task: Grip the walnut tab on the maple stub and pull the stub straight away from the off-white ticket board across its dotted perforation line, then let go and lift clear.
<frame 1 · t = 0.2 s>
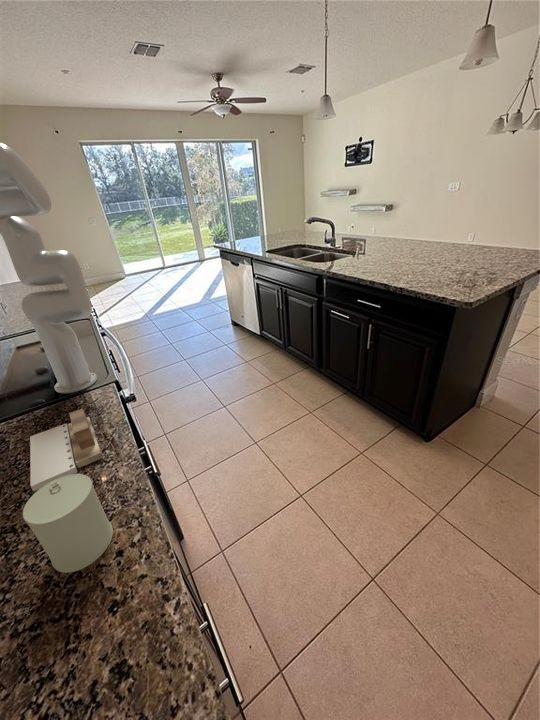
can: (84, 544, 51), on the countertop
ticket board: (72, 447, 73), on the countertop
stub: (80, 431, 73), point 3 cm above the countertop, slide at 0.0 cm
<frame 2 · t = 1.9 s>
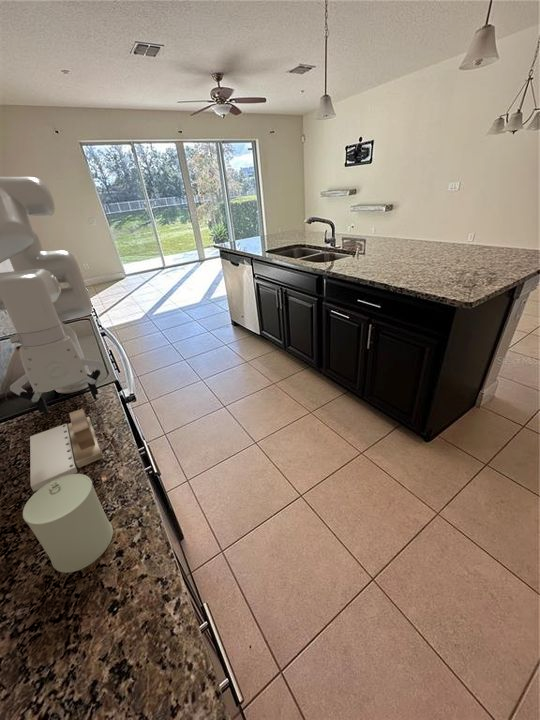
hand: (71, 405, 70), 11 cm above the countertop, tool pointing down, fingers open, 9 cm apart
nothing on the countertop moved.
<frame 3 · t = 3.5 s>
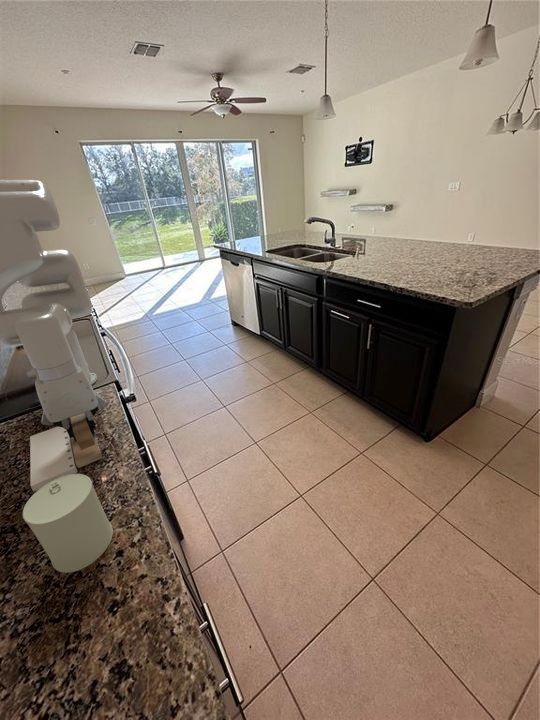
hand: (84, 434, 74), 2 cm above the countertop, tool pointing down, fingers closed on stub, 3 cm apart
stub: (80, 431, 73), point 3 cm above the countertop, slide at 0.0 cm, touching gripper
everything else where it was.
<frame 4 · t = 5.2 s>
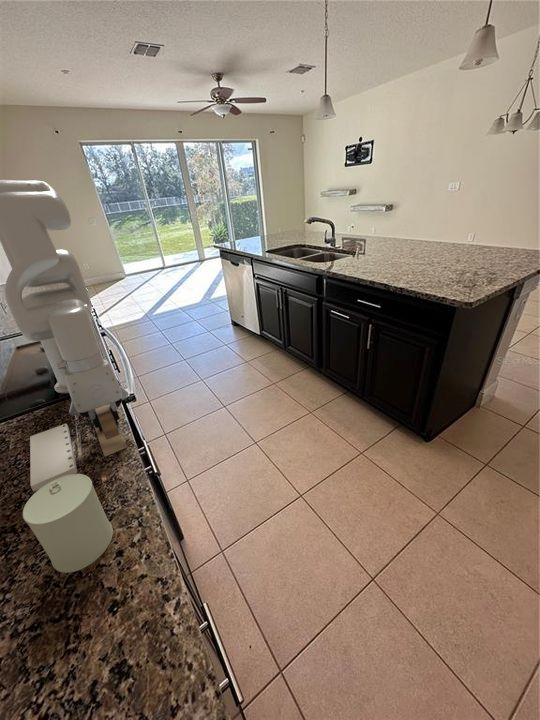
hand: (108, 425, 77), 2 cm above the countertop, tool pointing down, fingers closed on stub, 3 cm apart
stub: (105, 422, 76), point 3 cm above the countertop, slide at 5.5 cm, touching gripper
everything else where it was.
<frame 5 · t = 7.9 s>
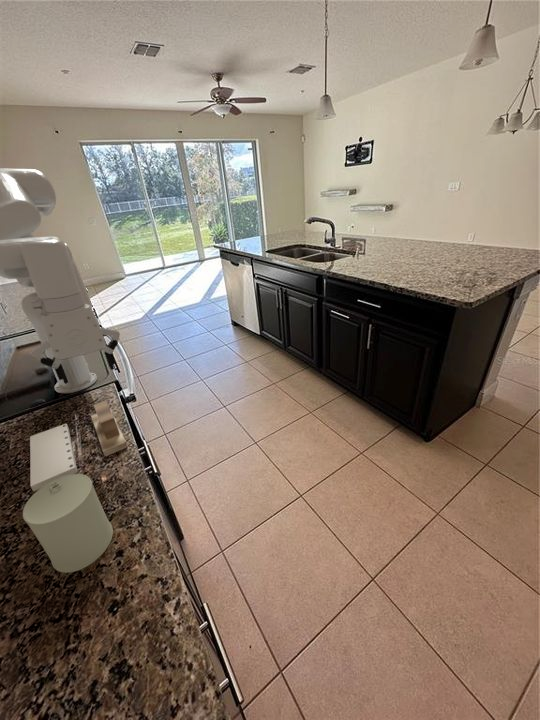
hand: (89, 374, 71), 17 cm above the countertop, tool pointing down, fingers open, 9 cm apart
stub: (105, 422, 76), point 3 cm above the countertop, slide at 5.5 cm
everything else where it was.
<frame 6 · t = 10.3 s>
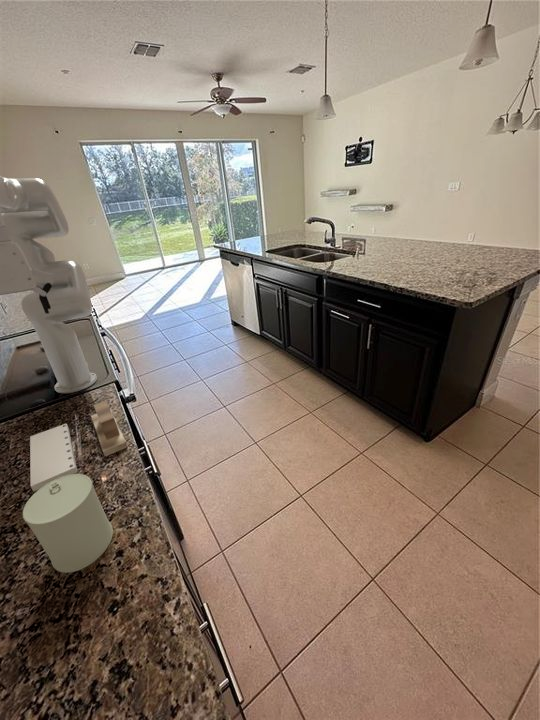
hand: (22, 317, 70), 30 cm above the countertop, tool pointing down, fingers open, 9 cm apart
nothing on the countertop moved.
at the end: stub slide at 5.5 cm; the gripper is holding nothing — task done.
